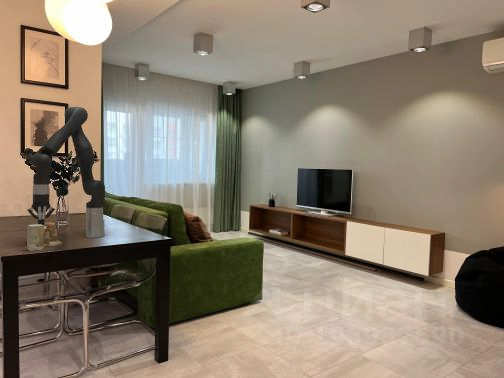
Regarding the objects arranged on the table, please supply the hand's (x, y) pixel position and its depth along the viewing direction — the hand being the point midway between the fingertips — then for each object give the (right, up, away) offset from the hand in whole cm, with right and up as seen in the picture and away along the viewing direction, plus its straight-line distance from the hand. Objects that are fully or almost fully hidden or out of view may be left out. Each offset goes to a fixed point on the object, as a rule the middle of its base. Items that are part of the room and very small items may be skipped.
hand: (41, 226), depth 192 cm
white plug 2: (0, -7, +1) cm, 7 cm away
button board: (-2, -9, +6) cm, 11 cm away
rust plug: (0, -6, +7) cm, 10 cm away
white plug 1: (-8, -7, +7) cm, 12 cm away
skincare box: (+2, -11, -9) cm, 14 cm away
